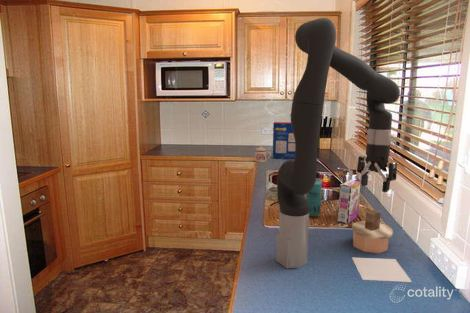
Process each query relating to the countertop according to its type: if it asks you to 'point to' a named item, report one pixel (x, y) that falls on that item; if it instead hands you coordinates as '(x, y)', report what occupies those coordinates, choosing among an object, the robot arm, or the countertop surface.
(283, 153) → the blue flat square box
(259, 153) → the teacup with lid
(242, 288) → the countertop surface
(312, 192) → the beverage bottle
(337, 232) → the countertop surface
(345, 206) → the candy bar box
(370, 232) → the lid
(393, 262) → the mat
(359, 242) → the bowl
